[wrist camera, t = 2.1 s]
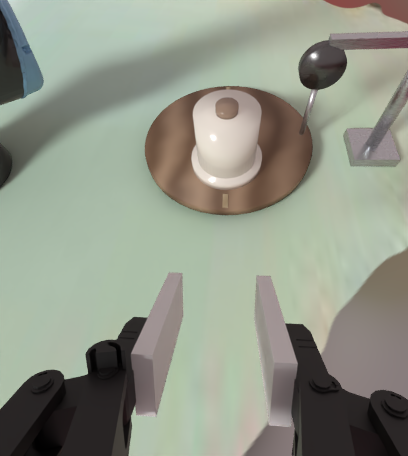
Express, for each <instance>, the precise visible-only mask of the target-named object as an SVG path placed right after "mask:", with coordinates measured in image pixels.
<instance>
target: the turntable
mask: <svg viewBox="0 0 408 456" xmlns="http://www.w3.org/2000/svg"><path fill="white" fill-rule="evenodd" d="M227 89H229V90H238V91H242V92H245V93H248V94H249V95H251V96H253V97H254V98H255V99H256V100H257V101H258V102H259V104H260V106H261V111H262V114H261V122H260V129H259V136H258V143H257V144H258V145H259V147H260V149H261V152H262V162H261V167H260V171H259V173H258V175H257V176H256V177H255V179H254V180H253V181H251V182H250V183H249V184H247V185H245V186H243V187H240V188H237V189H232V190H220V189H215V188H212V187H209V186H207V185H205V184H204V183H202V182H201V181H200V180H199V179H198V178H197V176H196V175H195V173H194V171H193V166H192V160H191V156H192V151H193V149H194V147H195V145H196V139H195V130H194V121H193V109H194V106H195V105H196V103H197V102H198V101H199V100H200V99H201V98H202V97H204V96H205V95H207V94H209V93H211V92H214V91H218V90H227ZM302 121H303V117H302V116H301V115H300V114H299V113H298V112H297V110H295V109H294V108H293V107H292V106H291V105H290V104H288V103H287V102H285V101H284V100H282V99H280V98H278V97H276V96H275V95H272V94H270V93H267V92H264V91H261V90H257V89H253V88H248V87H239V86H223V87H214V88H208V89H204V90H200V91H197V92H194V93H191V94H188V95H186V96H184V97H182V98H180V99H178V100H176V101H175V102H173V103H172V104H170V105H169V106H168V107H167V108H165V109H164V110H163V111H162V112H161V113H160V114H159V115H158V117H157V118H156V119H155V121H154V122H153V123H152V125H151V127H150V129H149V131H148V134H147V137H146V142H145V156H146V161H147V164H148V167H149V170H150V173H151V175H152V177H153V179H154V180H155V182H156V184H157V185H158V186H159V187H160V188H161V190H162V191H163V192H164V193H165V194H167V195H168V196H169V197H170V198H171V199H173V200H175V201H176V202H178V203H179V204H181V205H184V206H186V207H188V208H190V209H193V210H196V211H200V212H204V213H209V214H216V215H238V214H245V213H251V212H254V211H258V210H261V209H264V208H266V207H269V206H271V205H273V204H275V203H277V202H279V201H280V200H282V199H283V198H285V197H286V196H287V195H289V194H290V193H291V192H292V191H293V190H294V189H295V188H296V187H297V186H298V184H299V183H300V182H301V180H302V179H303V177H304V175H305V173H306V171H307V168H308V166H309V163H310V160H311V156H312V148H313V146H312V137H311V133H310V130H309V128H308V126H306V129H305V132H304V134H303V135H300V134H299V131H300V127H301V124H302Z"/></svg>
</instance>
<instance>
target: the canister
mask: <svg viewBox="0 0 408 456" xmlns="http://www.w3.org/2000/svg"><path fill="white" fill-rule="evenodd" d="M261 114H262V111H261V106H260V104H259V102H258V101H257V100H256V99H255V98H254V97H253V96H251V95H249V94H248V93H245V92H242V91H238V90H229V89H227V90H218V91H214V92H211V93H209V94H207V95H205V96H204V97H202V98H201V99H200V100H199V101H198V102H197V103H196V105H195V106H194V109H193V121H194V130H195V139H196V145H195V147H194V149H193V151H192V156H191V160H192V166H193V171H194V173H195V175H196V176H197V178H198V179H199V180H200V181H201V182H202V183H204V184H205V185H207V186H209V187H212V188H215V189H220V190H232V189H237V188H240V187H243V186H245V185H247V184H249V183H250V182H251V181H253V180H254V179H255V177H256V176H257V175H258V173H259V171H260V167H261V162H262V152H261V149H260V147H259V145H258V144H257V143H258V136H259V129H260V122H261Z"/></svg>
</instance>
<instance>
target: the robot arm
mask: <svg viewBox="0 0 408 456" xmlns="http://www.w3.org/2000/svg"><path fill="white" fill-rule="evenodd" d="M43 83H44V80H43V76H42V73H41V71H40V68H39V66H38V63H37V61H36V59H35V57H34V54H33V52H32V50H31V49H30V46H29V44H28V42H27V39H26V37H25V35H24V32H23V30H22V28H21V26H20V24H19V22H18V20H17V18H16V16H15V14H14V12H13V10H12V8H11V6H10V4H9V2H8V0H0V105H2V104H5V103H8V102H11V101H14V100H17V99H20V98H21V99H22V98H25V97H26V96H27V95H29V94H31V93H33V92H36V91H38V90H40V89H41V88H42V86H43ZM11 166H12V160H11V156H10V154H9V152H8V151H7V150H6V149H5V148H4V147H3V146H2V145H1V144H0V187H1V186H2V184H3V183H4V182H5V180H6V179H7V177H8V175H9V173H10V170H11ZM182 318H183V284H182V273H168V276H167V278H166V280H165V282H164V284H163V286H162V288H161V291H160V293H159V295H158V297H157V299H156V301H155V303H154V305H153V308H152V310H151V312H150V314H149V316H148V318H143V317H133V318H132V319H131V320H129V321H128V322H127V323H126V324H125V326H124V327H123V329H122V331H121V333H120V334H119V336H118V339H117V340H105V341H101V342H99V343H96V344H94V345H93V346H92V347H90V348H89V349H88V351H87V352H86V361H87V368H88V374H87V375H84V376H81V377H76V378H71V379H65V380H64V375H63V374H62V373H61V372H60V371H57V370H46V371H43V372H39V373H37V374H35V375H34V376H32V377H30V378H29V379H28V380H27V381H26V382H24V384H23V385H22V386H21V387H20V388H19V389H18V390H17V391H16V392H15V394H14V395H13V396H12V397H11V398H10V399H9V400H8V401H7V403H6V404H5V405H4V406H3V407H2V408H1V409H0V456H128V454H129V446H130V438H131V430H132V422H131V415H132V412H133V409H134V406H135V407H136V415H141V416H154V417H156V416H157V412H158V408H159V404H160V401H161V397H162V393H163V389H164V386H165V382H166V378H167V374H168V371H169V367H170V363H171V360H172V356H173V352H174V348H175V345H176V341H177V337H178V333H179V330H180V326H181V322H182ZM254 321H255V328H256V335H257V342H258V349H259V357H260V364H261V371H262V378H263V385H264V392H265V399H266V406H267V413H268V420H269V425H272V426H286V427H291V420H292V418H293V422H294V427H295V432H294V440H293V449H292V456H408V400H407V399H406V398H404V397H402V396H401V395H399V394H396V393H394V392H392V391H386V390H380V391H379V390H378V391H375V392H374V393H372V394H371V397H370V399H369V398H365V397H362V396H359V395H356V394H353V393H350V392H348V391H346V390H344V389H342V387H341V385H340V383H339V382H338V381H337V380H336V379H335V378H334V377H332V376H331V375H329V374H328V372H327V369H326V367H325V365H324V362H323V360H322V358H321V355H320V353H319V351H318V349H317V346H316V344H315V342H314V339H313V337H312V334H311V332H310V331H309V330H308V329H307V328H306V327H305V326H304V325H303V324H285V321H284V318H283V315H282V312H281V308H280V305H279V302H278V299H277V295H276V292H275V289H274V286H273V283H272V279H271V276H256V294H255V312H254Z"/></svg>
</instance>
